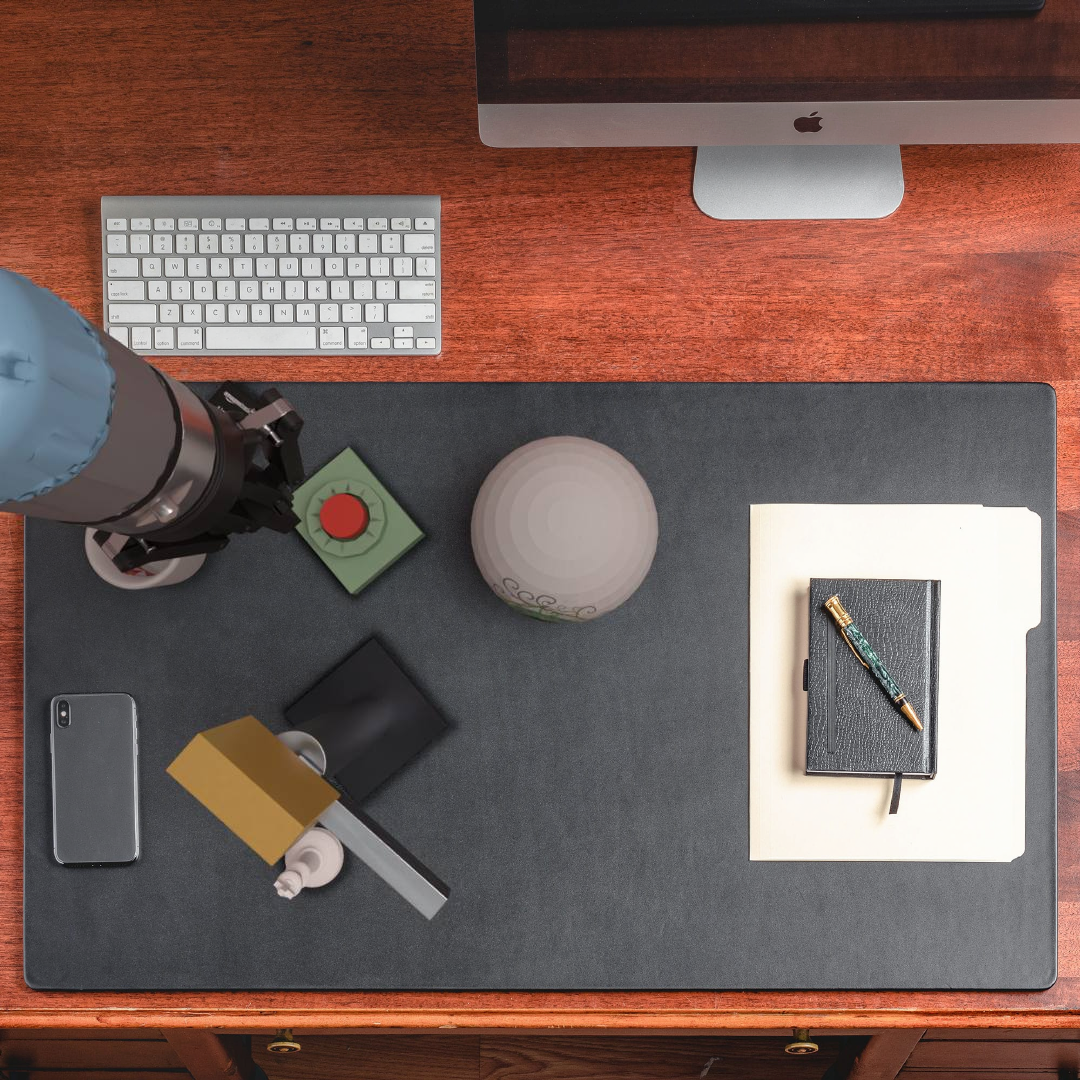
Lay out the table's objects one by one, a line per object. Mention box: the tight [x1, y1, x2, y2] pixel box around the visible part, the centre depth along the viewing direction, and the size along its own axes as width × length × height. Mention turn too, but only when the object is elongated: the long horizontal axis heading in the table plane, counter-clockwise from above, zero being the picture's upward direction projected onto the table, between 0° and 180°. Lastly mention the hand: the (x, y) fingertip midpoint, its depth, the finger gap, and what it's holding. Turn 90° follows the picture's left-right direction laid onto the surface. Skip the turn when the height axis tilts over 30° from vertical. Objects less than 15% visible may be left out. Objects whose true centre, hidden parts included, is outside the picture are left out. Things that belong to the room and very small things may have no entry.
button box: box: [291, 446, 426, 595], centre depth 76 cm, size 10×8×4 cm
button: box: [320, 494, 367, 539], centre depth 74 cm, size 4×4×2 cm
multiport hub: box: [207, 379, 258, 416], centre depth 78 cm, size 4×11×2 cm, turn 142°
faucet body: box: [275, 636, 450, 805], centre depth 65 cm, size 10×10×24 cm
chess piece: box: [273, 826, 344, 900], centre depth 71 cm, size 5×5×10 cm
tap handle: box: [165, 714, 452, 922], centre depth 48 cm, size 16×2×10 cm, turn 49°
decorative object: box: [470, 435, 659, 625], centre depth 71 cm, size 15×15×15 cm
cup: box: [84, 527, 208, 590], centre depth 74 cm, size 11×8×8 cm
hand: (281, 513), depth 64 cm, fingers closed
